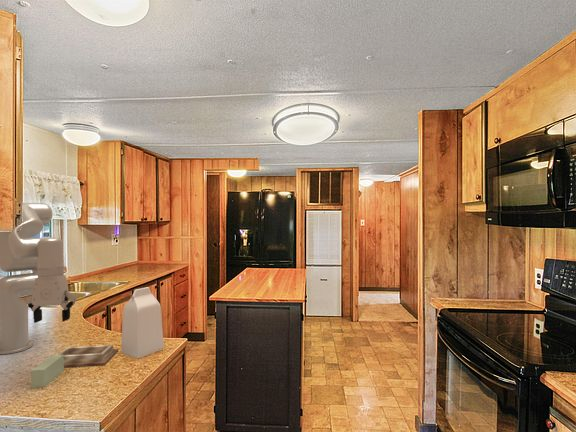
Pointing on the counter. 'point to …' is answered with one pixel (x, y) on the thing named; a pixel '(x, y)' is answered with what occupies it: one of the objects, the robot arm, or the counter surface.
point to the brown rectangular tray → (87, 355)
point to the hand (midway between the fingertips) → (52, 320)
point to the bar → (47, 371)
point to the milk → (142, 325)
